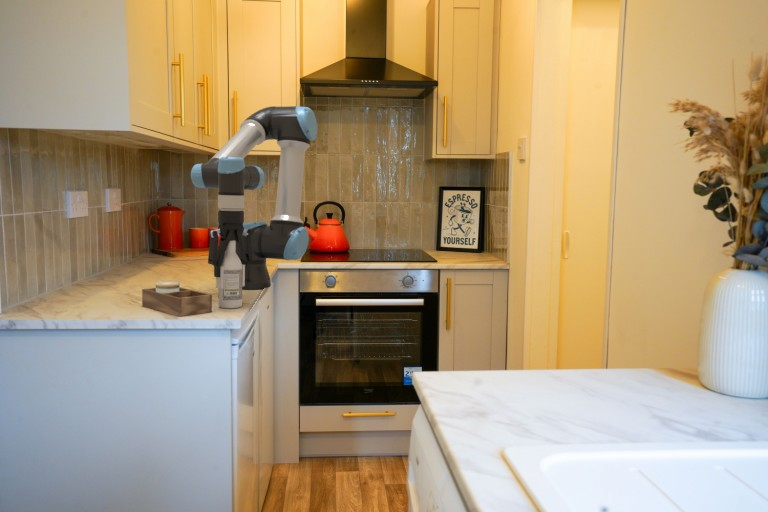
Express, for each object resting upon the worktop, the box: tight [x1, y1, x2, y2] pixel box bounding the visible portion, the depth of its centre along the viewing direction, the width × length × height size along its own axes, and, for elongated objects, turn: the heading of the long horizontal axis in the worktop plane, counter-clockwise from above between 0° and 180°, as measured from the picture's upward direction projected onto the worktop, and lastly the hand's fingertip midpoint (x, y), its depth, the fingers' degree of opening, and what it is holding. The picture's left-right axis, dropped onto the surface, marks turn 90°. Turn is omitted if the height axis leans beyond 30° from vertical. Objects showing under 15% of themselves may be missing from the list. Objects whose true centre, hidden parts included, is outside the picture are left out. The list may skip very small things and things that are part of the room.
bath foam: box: [217, 240, 243, 310], centre depth 197 cm, size 7×7×20 cm
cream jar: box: [154, 280, 181, 293], centre depth 194 cm, size 7×7×6 cm
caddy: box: [141, 287, 213, 317], centre depth 191 cm, size 10×20×5 cm, turn 48°
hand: (230, 286), depth 197 cm, fingers closed on bath foam, 7 cm apart
